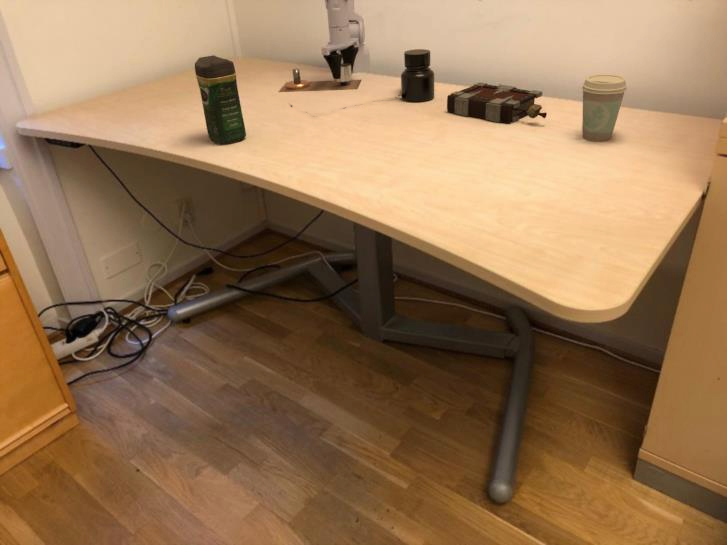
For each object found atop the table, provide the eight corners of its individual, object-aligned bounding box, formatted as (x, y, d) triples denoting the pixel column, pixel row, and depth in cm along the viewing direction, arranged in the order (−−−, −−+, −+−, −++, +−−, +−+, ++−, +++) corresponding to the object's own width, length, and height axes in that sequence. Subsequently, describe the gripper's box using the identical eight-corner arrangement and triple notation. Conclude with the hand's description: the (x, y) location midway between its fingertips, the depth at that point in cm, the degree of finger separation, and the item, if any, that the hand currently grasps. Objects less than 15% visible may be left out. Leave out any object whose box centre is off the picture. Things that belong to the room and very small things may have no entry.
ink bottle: (437, 93, 161) (437, 47, 155) (434, 102, 154) (434, 54, 147) (402, 94, 163) (400, 48, 157) (398, 103, 155) (396, 56, 149)
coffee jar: (251, 139, 137) (238, 56, 128) (220, 147, 134) (203, 63, 124) (234, 130, 144) (220, 51, 135) (204, 137, 141) (187, 57, 131)
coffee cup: (566, 135, 126) (573, 78, 120) (598, 127, 129) (606, 71, 122) (595, 146, 119) (603, 86, 113) (627, 138, 122) (638, 79, 116)
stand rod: (344, 83, 171) (343, 69, 169) (347, 84, 169) (346, 70, 167) (339, 84, 170) (338, 70, 168) (342, 85, 169) (341, 71, 167)
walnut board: (362, 84, 175) (361, 79, 174) (357, 94, 165) (357, 89, 165) (287, 87, 178) (286, 82, 177) (278, 97, 168) (277, 92, 167)
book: (479, 100, 154) (480, 80, 151) (568, 115, 139) (570, 93, 136) (445, 114, 145) (445, 93, 143) (536, 132, 130) (538, 109, 127)
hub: (303, 82, 175) (301, 65, 173) (313, 86, 170) (311, 69, 168) (282, 86, 173) (280, 69, 170) (291, 90, 168) (289, 73, 165)
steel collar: (346, 76, 172) (345, 62, 170) (354, 79, 168) (353, 65, 166) (331, 79, 170) (330, 65, 168) (339, 82, 166) (338, 68, 164)
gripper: (343, 20, 168) (347, 69, 176) (311, 29, 159) (316, 81, 166) (363, 21, 165) (366, 71, 172) (331, 31, 155) (335, 83, 162)
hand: (343, 76), depth 169 cm, fingers closed on steel collar, 5 cm apart
